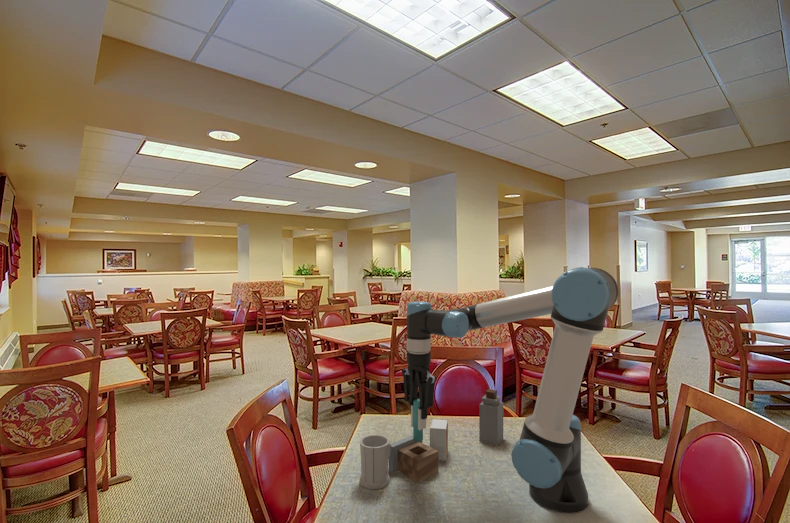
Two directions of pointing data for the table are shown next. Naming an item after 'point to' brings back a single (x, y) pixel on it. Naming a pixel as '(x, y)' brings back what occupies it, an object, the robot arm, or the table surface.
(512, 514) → the table surface
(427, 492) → the table surface
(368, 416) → the table surface
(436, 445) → the small box
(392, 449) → the wall
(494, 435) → the perfume bottle
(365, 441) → the cup
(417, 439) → the dowel
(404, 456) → the block
